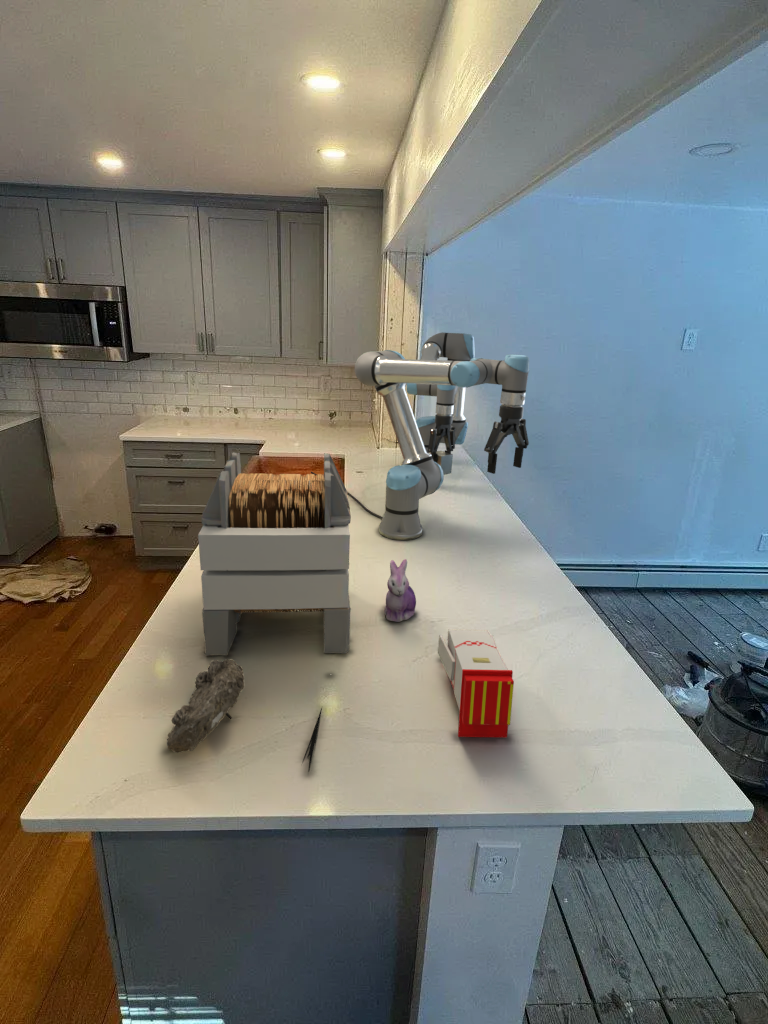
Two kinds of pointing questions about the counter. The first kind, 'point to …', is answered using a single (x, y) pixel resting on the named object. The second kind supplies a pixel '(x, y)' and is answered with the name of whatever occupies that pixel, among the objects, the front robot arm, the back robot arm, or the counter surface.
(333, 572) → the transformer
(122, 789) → the counter surface
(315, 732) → the feather
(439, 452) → the grey beige block
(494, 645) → the toy
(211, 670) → the fossil
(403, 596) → the figurine
